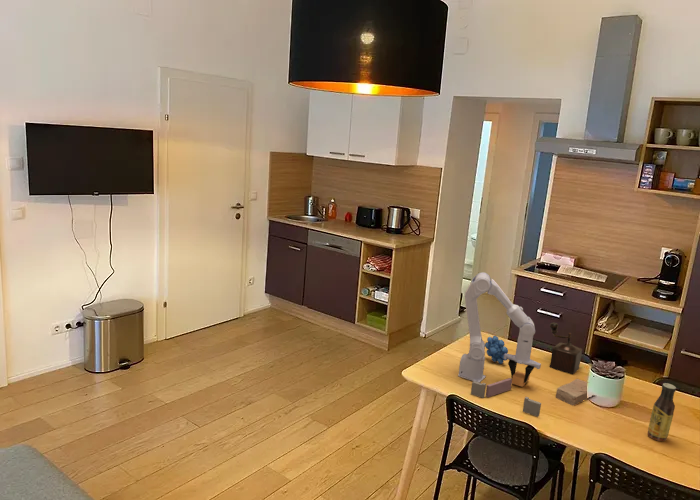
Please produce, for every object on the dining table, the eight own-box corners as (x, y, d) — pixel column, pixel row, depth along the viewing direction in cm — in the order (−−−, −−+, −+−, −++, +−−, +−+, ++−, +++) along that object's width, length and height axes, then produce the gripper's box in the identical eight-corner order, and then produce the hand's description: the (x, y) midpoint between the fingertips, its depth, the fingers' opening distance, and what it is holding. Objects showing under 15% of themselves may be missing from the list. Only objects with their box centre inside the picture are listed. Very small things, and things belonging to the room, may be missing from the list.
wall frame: (470, 394, 212) (472, 380, 211) (472, 392, 213) (473, 379, 212) (538, 416, 198) (540, 403, 197) (539, 415, 199) (541, 401, 198)
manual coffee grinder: (580, 367, 245) (587, 329, 241) (572, 375, 236) (579, 336, 233) (546, 357, 254) (551, 320, 250) (537, 363, 246) (543, 326, 242)
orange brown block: (511, 383, 222) (512, 375, 222) (518, 376, 230) (519, 368, 229) (522, 386, 220) (523, 378, 219) (529, 379, 227) (530, 371, 227)
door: (487, 397, 210) (489, 386, 209) (483, 394, 211) (484, 384, 210) (510, 389, 218) (512, 379, 217) (506, 387, 219) (507, 377, 218)
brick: (573, 407, 208) (575, 395, 207) (553, 397, 215) (555, 386, 214) (595, 396, 218) (597, 385, 217) (576, 388, 225) (578, 377, 224)
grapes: (478, 359, 245) (481, 334, 243) (486, 356, 250) (489, 331, 247) (501, 369, 237) (504, 343, 235) (509, 365, 242) (512, 339, 239)
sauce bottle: (643, 432, 192) (653, 380, 188) (659, 432, 193) (670, 380, 189) (654, 442, 186) (665, 389, 182) (671, 443, 187) (683, 389, 182)
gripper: (503, 346, 220) (498, 377, 223) (539, 356, 212) (534, 388, 215) (508, 341, 226) (504, 372, 229) (544, 351, 218) (539, 382, 221)
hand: (519, 379), depth 223 cm, fingers closed on orange brown block, 4 cm apart
